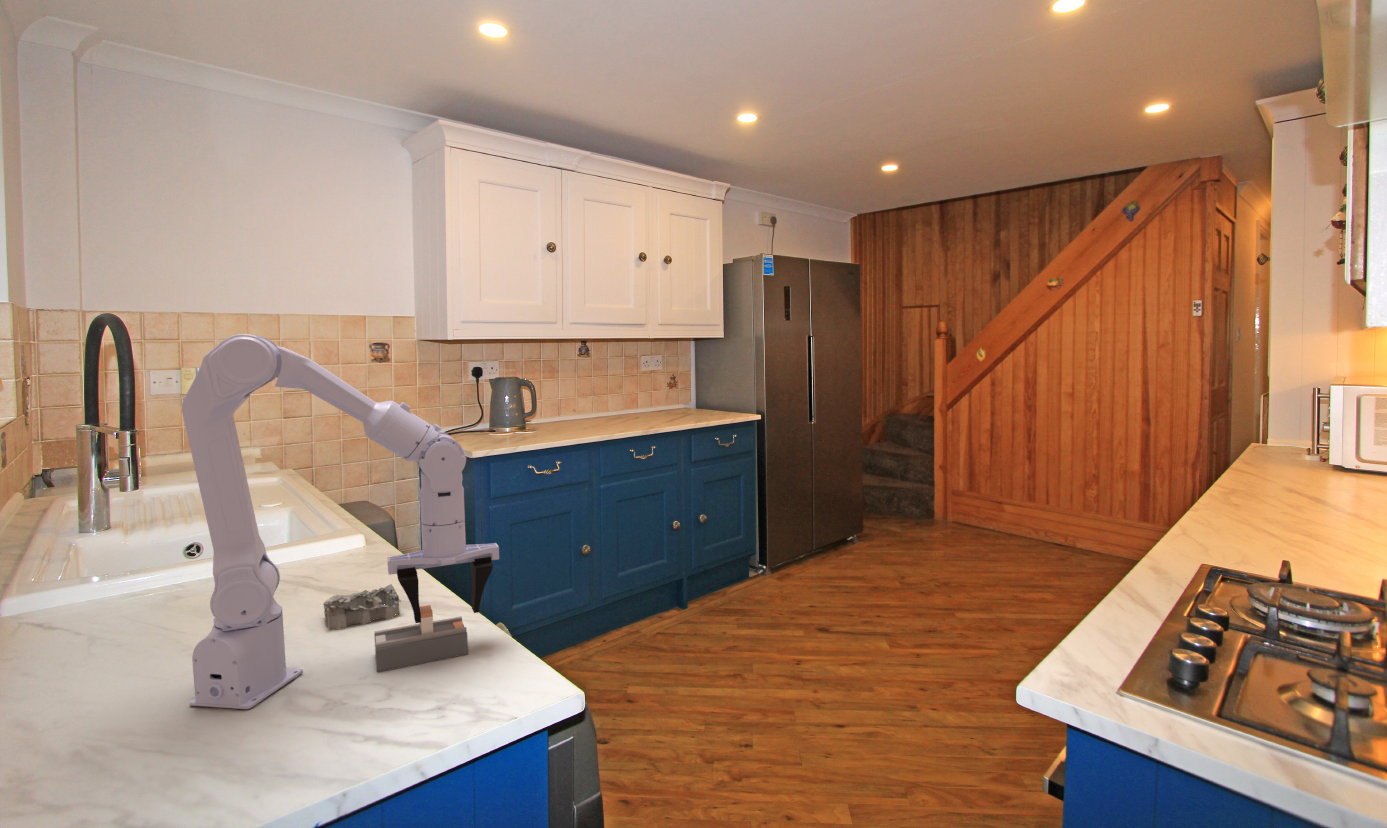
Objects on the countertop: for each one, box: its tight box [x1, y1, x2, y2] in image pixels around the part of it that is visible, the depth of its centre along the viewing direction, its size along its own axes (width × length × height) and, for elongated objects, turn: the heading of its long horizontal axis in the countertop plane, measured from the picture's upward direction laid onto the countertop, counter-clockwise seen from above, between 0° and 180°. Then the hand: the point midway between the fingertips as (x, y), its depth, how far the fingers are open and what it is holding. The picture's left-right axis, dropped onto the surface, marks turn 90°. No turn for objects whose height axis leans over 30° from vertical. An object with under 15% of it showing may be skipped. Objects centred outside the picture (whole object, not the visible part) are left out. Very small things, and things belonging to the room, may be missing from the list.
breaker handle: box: [419, 604, 434, 635], centre depth 94 cm, size 2×3×3 cm, turn 27°
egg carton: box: [322, 583, 402, 630], centre depth 108 cm, size 11×8×4 cm
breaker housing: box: [373, 616, 469, 673], centre depth 94 cm, size 12×6×4 cm, turn 117°
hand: (447, 615), depth 95 cm, fingers open, 7 cm apart
